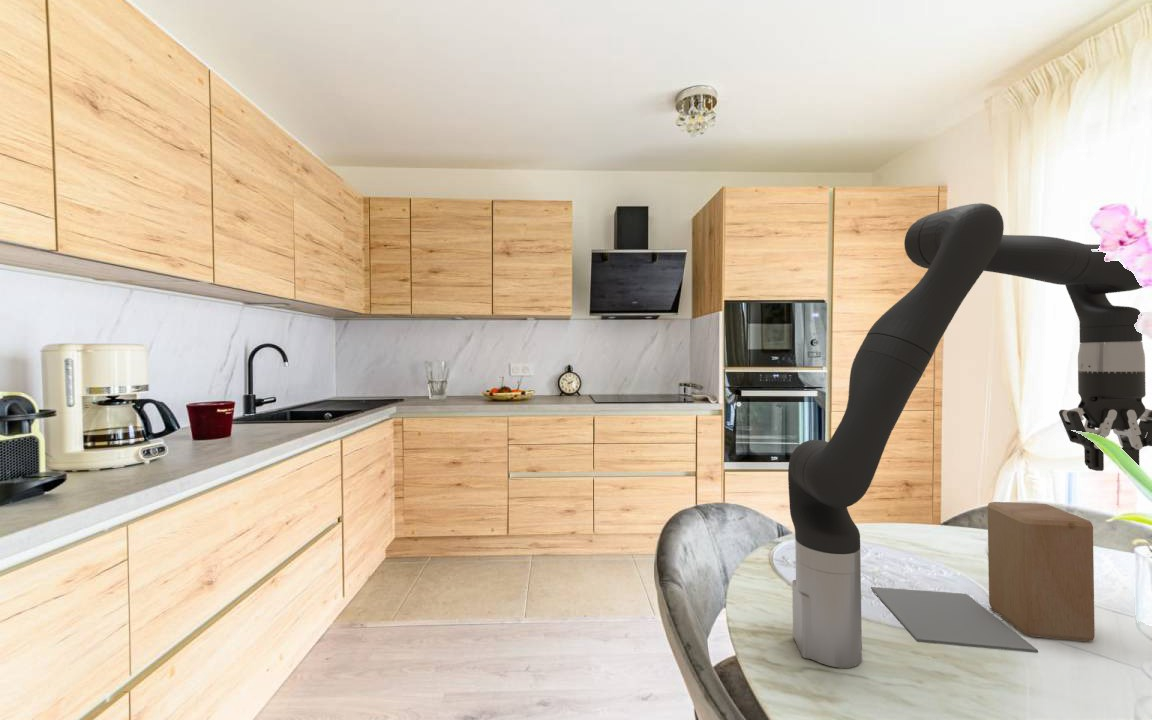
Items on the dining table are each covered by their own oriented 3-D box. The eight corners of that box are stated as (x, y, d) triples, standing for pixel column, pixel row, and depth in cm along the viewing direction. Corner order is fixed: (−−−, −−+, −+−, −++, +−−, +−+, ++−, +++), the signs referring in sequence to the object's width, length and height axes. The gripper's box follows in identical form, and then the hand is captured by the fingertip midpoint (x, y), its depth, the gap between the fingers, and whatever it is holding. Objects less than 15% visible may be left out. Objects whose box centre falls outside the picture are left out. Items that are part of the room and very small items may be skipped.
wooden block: (1098, 644, 76) (1096, 521, 76) (1025, 638, 78) (1024, 517, 78) (1049, 612, 85) (1047, 502, 85) (986, 607, 87) (984, 499, 87)
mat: (917, 641, 77) (916, 638, 77) (870, 588, 95) (870, 586, 95) (1037, 652, 74) (1037, 649, 74) (966, 595, 92) (966, 593, 92)
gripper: (1079, 370, 77) (1081, 474, 77) (1186, 369, 74) (1187, 477, 74) (1043, 369, 84) (1045, 464, 84) (1139, 368, 82) (1140, 466, 82)
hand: (1111, 469), depth 79 cm, fingers open, 4 cm apart
